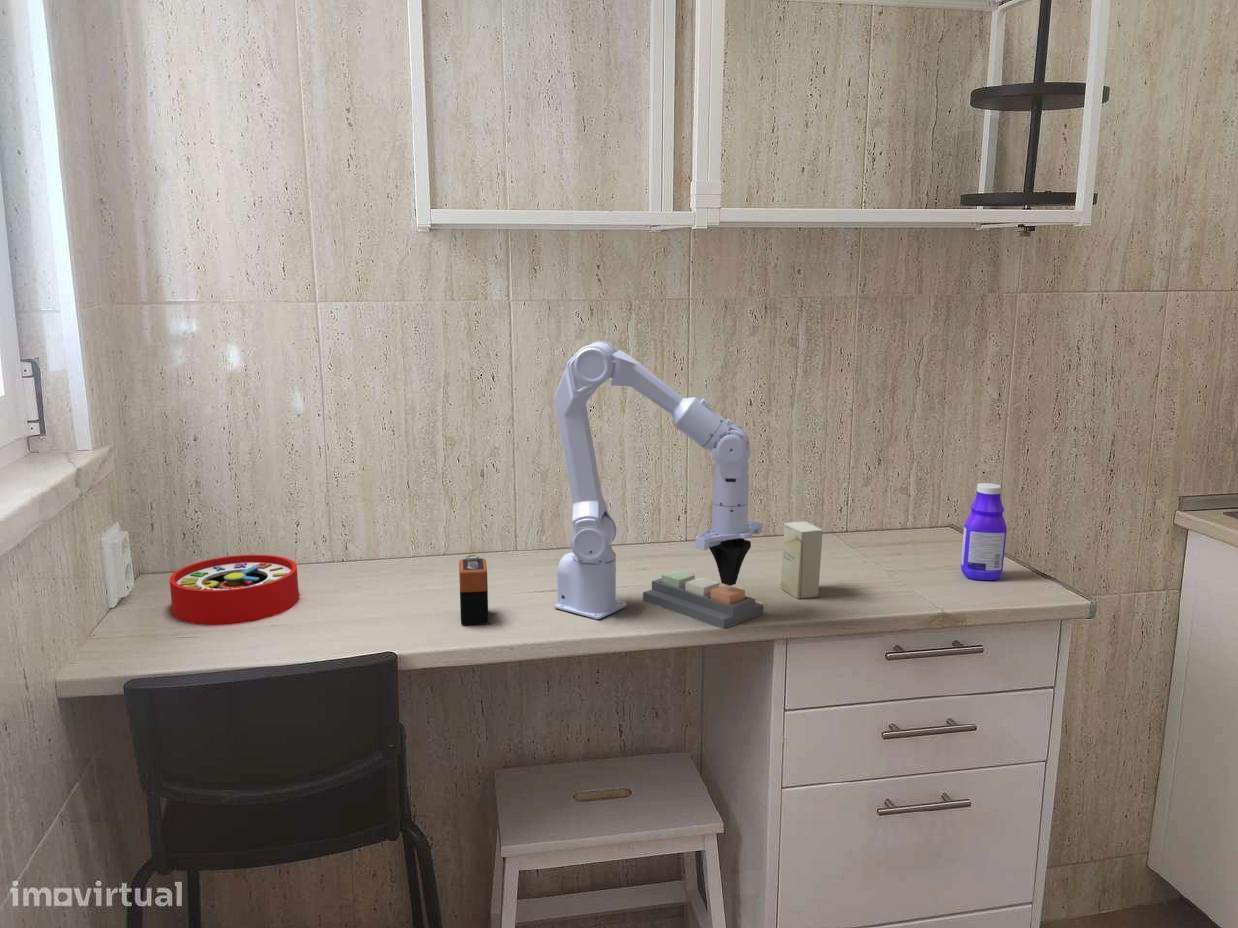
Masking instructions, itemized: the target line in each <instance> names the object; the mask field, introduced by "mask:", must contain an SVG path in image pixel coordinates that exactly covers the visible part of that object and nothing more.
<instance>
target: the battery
mask: <svg viewBox="0 0 1238 928" xmlns="http://www.w3.org/2000/svg"><path fill="white" fill-rule="evenodd" d="M458 566H459V567H458V573H459V574H458V575H459V576H458V577H459V603H460V604H459V605H460V606H459V608H460V623H461V625H462V626H473V625H474V626H475V625H486V624H489V594H488V593H489V591H488V589H489V587H488V569H487V568H488V567H487V559H485V558H482V557H481V558H480V556H479V555H477V554H467V555H466V556H465V558H464V559H463V558H461V559H460V560H459V562H458Z"/></svg>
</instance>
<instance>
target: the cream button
mask: <svg viewBox="0 0 1238 928" xmlns="http://www.w3.org/2000/svg"><path fill="white" fill-rule="evenodd" d="M718 587H720V582H718V581H715V580H712V579H709V578H706V577H703V576H701V577H698V578H695V579H694V580H691V581H688V582H686V584H685V591H688V592H691V593H694V594H697V595H701V596H707V595H709V594H710V592H711V590H712V589H715V588H718Z"/></svg>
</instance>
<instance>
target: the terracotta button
mask: <svg viewBox="0 0 1238 928" xmlns="http://www.w3.org/2000/svg"><path fill="white" fill-rule="evenodd" d="M745 596H746V590H745V589H743V588H739V587H735V586H733V585H732V586H729V585H726V584H723V585H721V586H719V587H718V588H715V589H712V590H711V592H710V599H713V600H716V601H719V602H722V603H725V604H729V605H730V604H733V603H736V602H739V601H741V600H744V599H745Z"/></svg>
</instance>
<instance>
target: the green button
mask: <svg viewBox="0 0 1238 928" xmlns="http://www.w3.org/2000/svg"><path fill="white" fill-rule="evenodd" d="M695 577H696V576H695V574H692V573H689V572H686V571H682V570H679V569H676V570H673V571H670V572H666V573H664V574H663V573H662V574H661V578H662V583H663V584H666V585H669V586H672V587H676V588H682V587H685V584H686V582H688V581H691V580H694V579H696V578H695Z"/></svg>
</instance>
